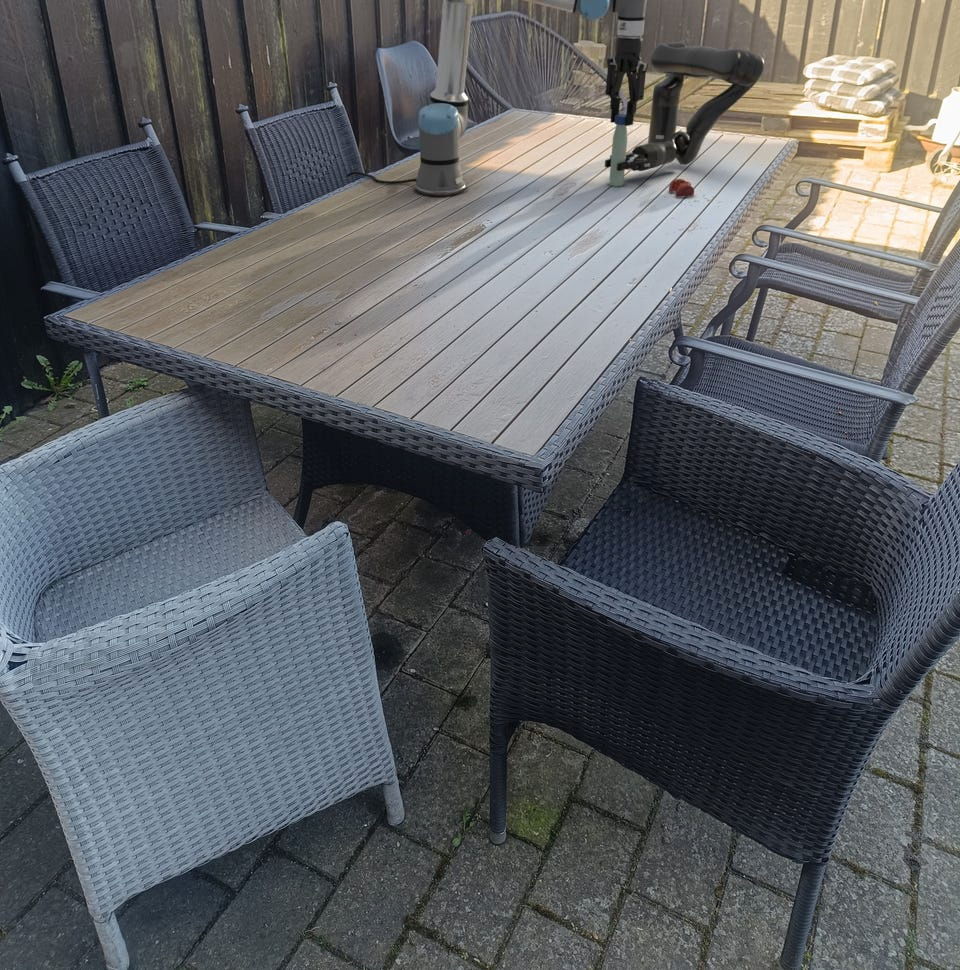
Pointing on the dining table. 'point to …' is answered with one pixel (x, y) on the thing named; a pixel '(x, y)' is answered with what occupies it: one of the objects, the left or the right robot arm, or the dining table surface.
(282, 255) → the dining table surface
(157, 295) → the dining table surface
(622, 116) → the cap
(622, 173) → the bottle
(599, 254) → the dining table surface
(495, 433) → the dining table surface
